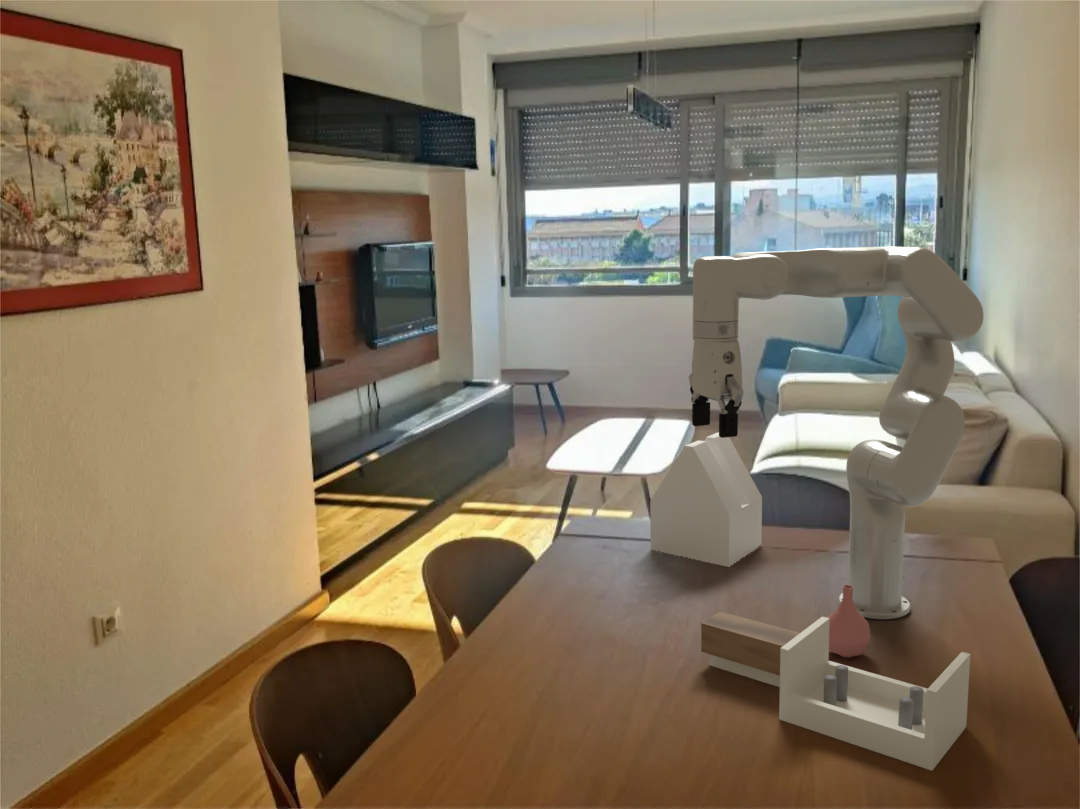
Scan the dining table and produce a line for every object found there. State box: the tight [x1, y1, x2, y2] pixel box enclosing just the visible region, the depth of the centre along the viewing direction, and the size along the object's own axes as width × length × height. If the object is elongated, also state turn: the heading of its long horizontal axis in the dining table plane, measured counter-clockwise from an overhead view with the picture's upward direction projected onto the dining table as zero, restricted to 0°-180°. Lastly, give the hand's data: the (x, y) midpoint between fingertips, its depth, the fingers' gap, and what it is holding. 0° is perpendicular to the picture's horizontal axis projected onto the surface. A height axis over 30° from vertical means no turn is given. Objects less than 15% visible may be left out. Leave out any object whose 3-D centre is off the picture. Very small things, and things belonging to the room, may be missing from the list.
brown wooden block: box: [700, 610, 801, 676], centre depth 156 cm, size 6×16×5 cm, turn 50°
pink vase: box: [826, 584, 872, 658], centre depth 161 cm, size 8×8×12 cm
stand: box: [778, 616, 971, 771], centre depth 139 cm, size 14×22×11 cm, turn 50°
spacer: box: [709, 654, 780, 688], centre depth 157 cm, size 4×14×2 cm, turn 50°
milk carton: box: [649, 431, 763, 568], centre depth 213 cm, size 19×15×25 cm
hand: (714, 430), depth 165 cm, fingers open, 9 cm apart
